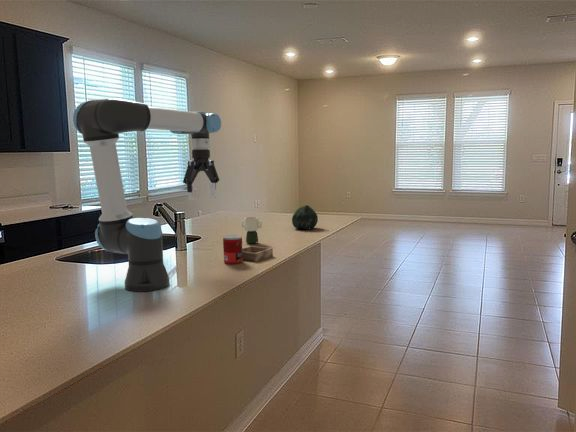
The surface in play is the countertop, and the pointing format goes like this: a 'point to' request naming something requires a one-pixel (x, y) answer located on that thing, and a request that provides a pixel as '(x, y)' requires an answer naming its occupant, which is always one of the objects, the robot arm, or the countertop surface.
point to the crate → (256, 253)
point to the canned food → (232, 249)
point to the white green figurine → (251, 228)
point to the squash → (304, 218)
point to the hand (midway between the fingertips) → (202, 198)
